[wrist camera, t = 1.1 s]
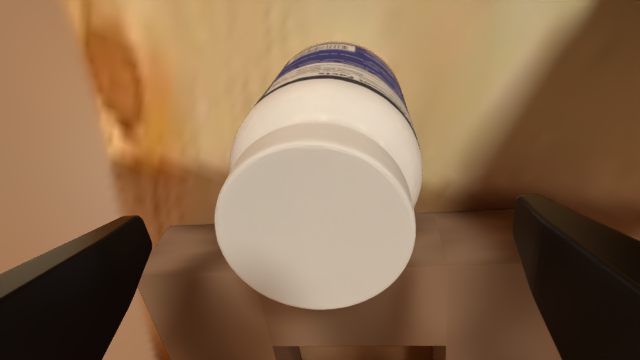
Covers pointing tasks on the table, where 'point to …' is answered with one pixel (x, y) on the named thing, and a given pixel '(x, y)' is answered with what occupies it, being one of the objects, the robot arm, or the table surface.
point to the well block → (363, 318)
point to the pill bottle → (323, 182)
